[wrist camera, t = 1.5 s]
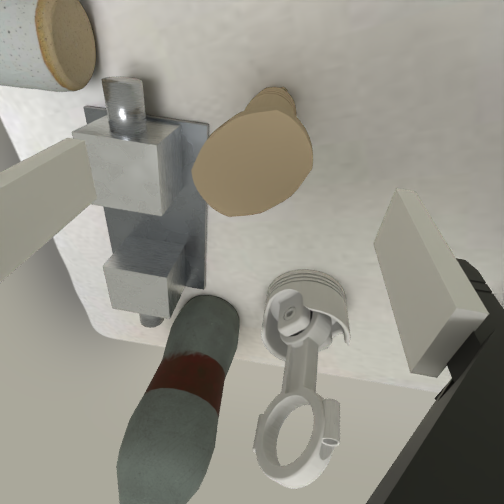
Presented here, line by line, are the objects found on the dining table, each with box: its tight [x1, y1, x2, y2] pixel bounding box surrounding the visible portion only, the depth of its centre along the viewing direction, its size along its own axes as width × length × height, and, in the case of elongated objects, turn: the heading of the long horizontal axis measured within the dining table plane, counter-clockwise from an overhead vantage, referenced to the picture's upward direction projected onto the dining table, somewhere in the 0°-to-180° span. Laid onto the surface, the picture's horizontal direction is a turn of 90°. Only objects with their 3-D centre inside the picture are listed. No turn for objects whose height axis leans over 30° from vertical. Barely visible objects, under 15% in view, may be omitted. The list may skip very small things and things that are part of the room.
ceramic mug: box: [0, 0, 96, 92], centre depth 24 cm, size 11×8×8 cm
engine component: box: [253, 270, 351, 489], centre depth 34 cm, size 11×20×10 cm
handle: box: [191, 87, 313, 217], centre depth 22 cm, size 5×6×15 cm
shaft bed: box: [72, 77, 209, 328], centre depth 34 cm, size 12×28×7 cm, turn 174°
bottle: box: [117, 295, 239, 504], centre depth 34 cm, size 9×9×30 cm
